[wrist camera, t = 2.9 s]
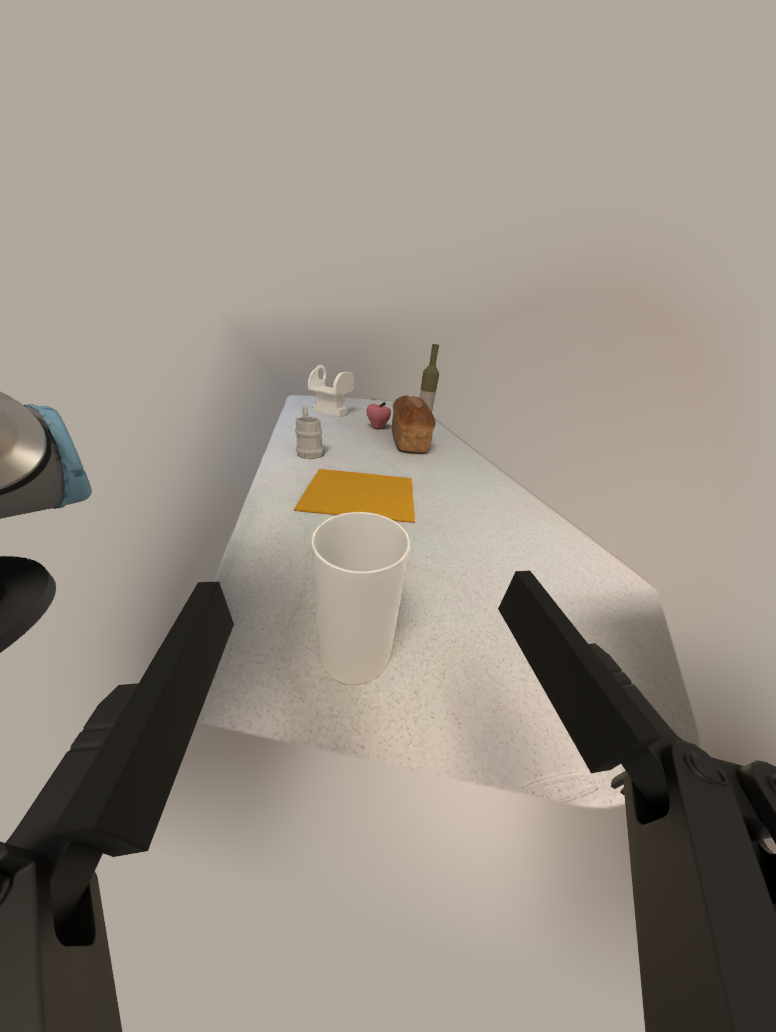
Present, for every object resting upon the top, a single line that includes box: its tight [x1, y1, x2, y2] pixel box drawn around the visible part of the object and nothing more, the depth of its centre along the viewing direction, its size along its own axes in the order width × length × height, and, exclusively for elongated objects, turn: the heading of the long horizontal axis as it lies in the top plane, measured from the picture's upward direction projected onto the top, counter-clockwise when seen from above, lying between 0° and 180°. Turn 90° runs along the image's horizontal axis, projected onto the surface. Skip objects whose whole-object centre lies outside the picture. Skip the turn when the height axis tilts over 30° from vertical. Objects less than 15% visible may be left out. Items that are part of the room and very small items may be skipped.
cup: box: [312, 512, 410, 685], centre depth 27 cm, size 8×8×16 cm
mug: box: [295, 406, 324, 459], centre depth 77 cm, size 8×12×12 cm, turn 21°
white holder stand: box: [308, 365, 354, 417], centre depth 118 cm, size 14×13×18 cm
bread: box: [392, 396, 436, 452], centre depth 94 cm, size 12×28×14 cm, turn 4°
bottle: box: [420, 344, 439, 412], centre depth 119 cm, size 7×7×30 cm
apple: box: [367, 402, 391, 429], centre depth 106 cm, size 10×9×10 cm
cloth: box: [294, 469, 415, 523], centre depth 62 cm, size 24×20×1 cm
